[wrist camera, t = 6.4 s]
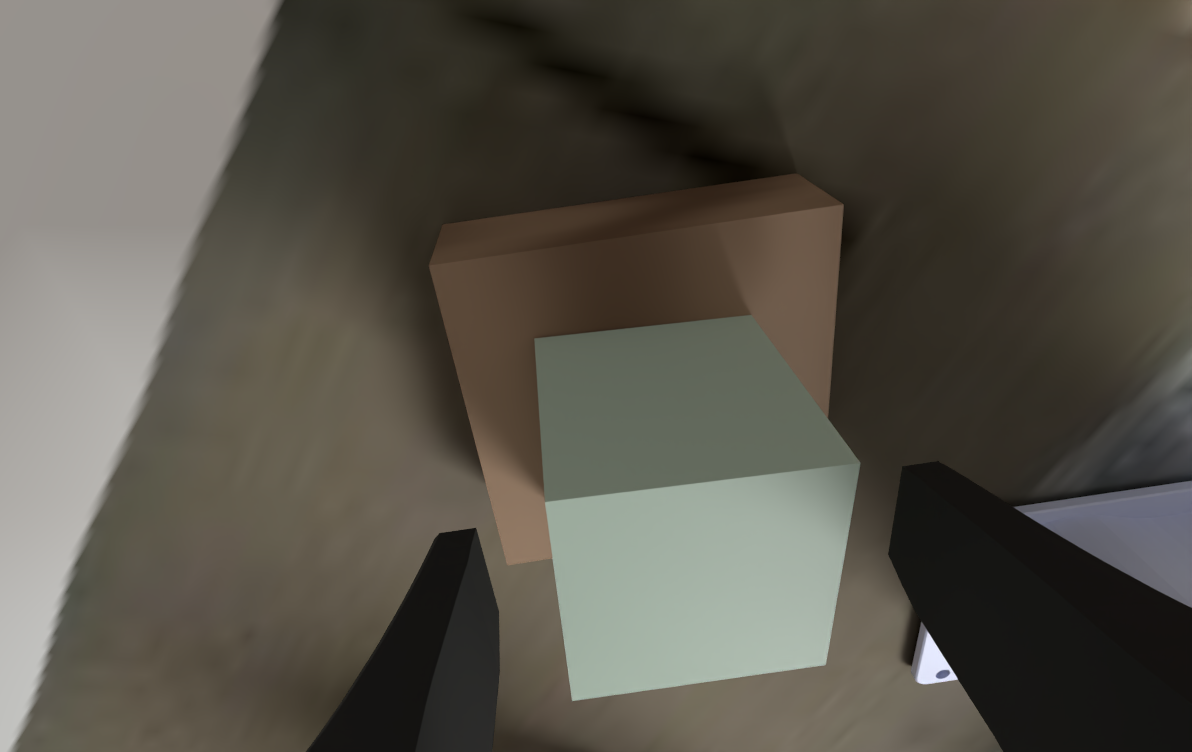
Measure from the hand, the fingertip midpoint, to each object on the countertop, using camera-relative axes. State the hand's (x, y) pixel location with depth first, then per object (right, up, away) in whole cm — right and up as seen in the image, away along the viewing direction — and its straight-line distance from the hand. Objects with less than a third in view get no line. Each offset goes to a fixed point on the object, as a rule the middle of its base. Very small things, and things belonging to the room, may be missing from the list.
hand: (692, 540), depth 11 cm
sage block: (-1, +2, +3) cm, 4 cm away
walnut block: (-1, +4, +6) cm, 7 cm away
